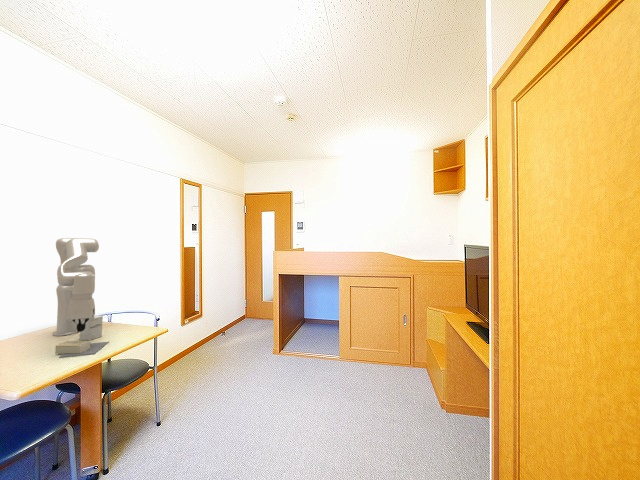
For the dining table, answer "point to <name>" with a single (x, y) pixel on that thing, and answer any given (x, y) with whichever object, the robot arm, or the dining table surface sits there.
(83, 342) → the skincare box
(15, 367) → the dining table surface
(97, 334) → the supplement box
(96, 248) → the robot arm
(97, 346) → the mat
